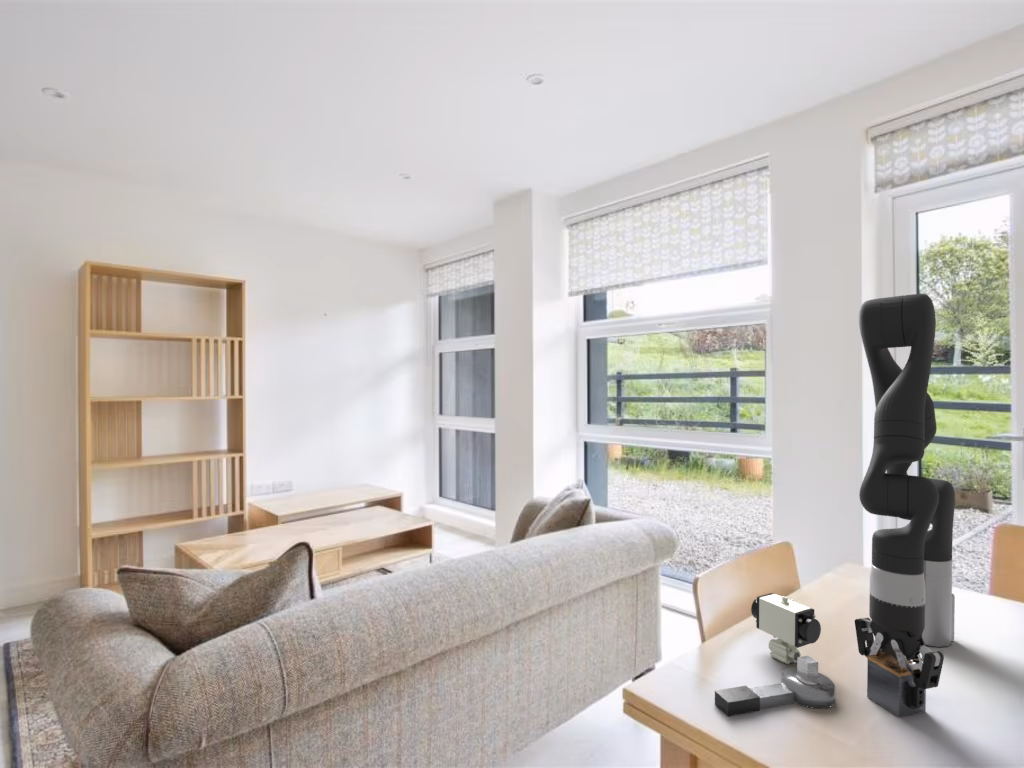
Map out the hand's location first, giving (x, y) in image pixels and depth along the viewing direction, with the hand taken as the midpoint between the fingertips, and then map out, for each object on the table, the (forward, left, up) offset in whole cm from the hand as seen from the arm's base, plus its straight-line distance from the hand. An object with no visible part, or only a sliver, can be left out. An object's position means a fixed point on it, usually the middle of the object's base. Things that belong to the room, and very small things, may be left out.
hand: (895, 696), depth 90 cm
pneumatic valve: (+7, -17, -2) cm, 18 cm away
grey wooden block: (0, 0, -1) cm, 1 cm away
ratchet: (+18, -6, -1) cm, 19 cm away
